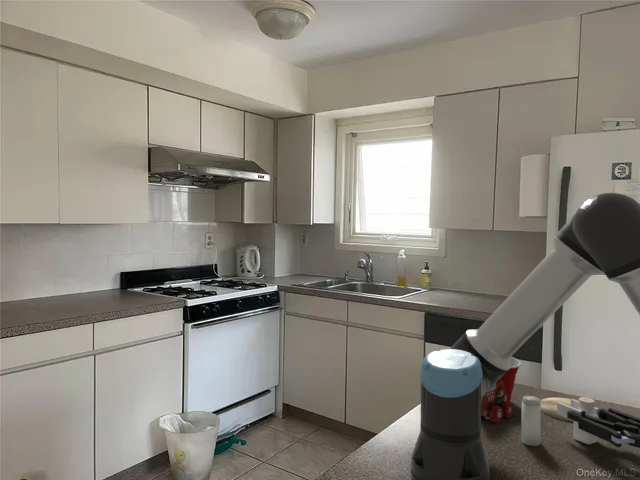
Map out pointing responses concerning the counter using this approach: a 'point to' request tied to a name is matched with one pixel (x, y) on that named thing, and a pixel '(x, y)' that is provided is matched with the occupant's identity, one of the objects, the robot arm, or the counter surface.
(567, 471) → the counter surface
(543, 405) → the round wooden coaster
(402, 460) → the counter surface
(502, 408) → the toy fire truck
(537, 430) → the salt shaker
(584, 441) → the pepper shaker
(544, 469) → the counter surface
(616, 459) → the counter surface
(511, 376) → the plastic cup
